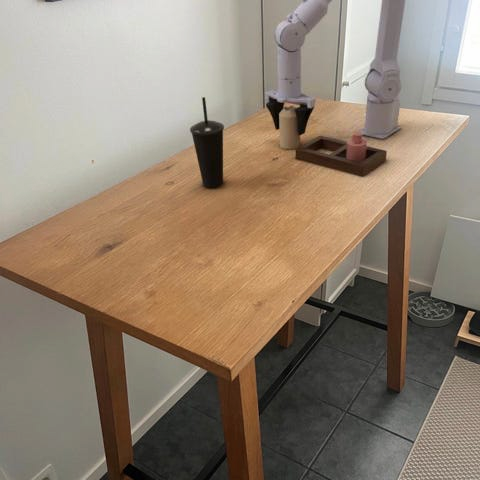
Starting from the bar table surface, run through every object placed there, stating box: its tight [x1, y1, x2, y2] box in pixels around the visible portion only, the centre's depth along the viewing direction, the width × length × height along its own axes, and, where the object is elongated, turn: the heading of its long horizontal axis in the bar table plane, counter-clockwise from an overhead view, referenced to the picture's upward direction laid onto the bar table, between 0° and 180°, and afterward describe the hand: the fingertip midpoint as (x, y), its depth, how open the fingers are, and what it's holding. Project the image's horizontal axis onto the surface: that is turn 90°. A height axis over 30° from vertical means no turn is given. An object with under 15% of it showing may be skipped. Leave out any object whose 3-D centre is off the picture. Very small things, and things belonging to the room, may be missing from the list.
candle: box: [279, 105, 301, 150], centre depth 134 cm, size 6×6×10 cm
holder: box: [295, 135, 388, 177], centre depth 126 cm, size 11×20×3 cm, turn 48°
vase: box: [346, 131, 368, 162], centre depth 122 cm, size 5×5×8 cm
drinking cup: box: [189, 96, 225, 190], centre depth 115 cm, size 8×8×20 cm
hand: (290, 131), depth 134 cm, fingers open, 7 cm apart
